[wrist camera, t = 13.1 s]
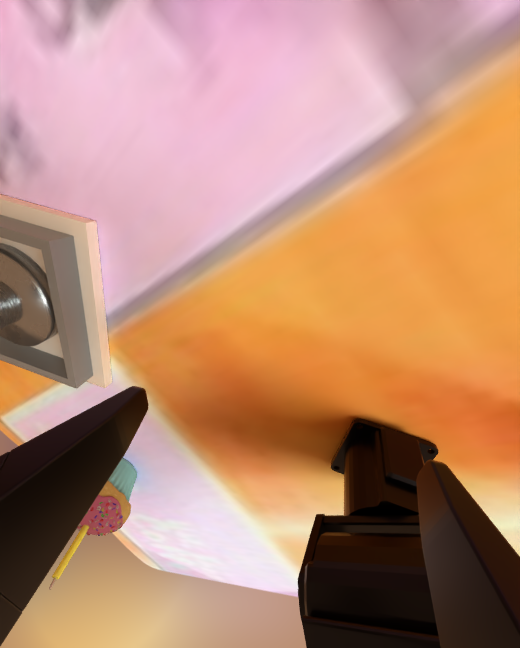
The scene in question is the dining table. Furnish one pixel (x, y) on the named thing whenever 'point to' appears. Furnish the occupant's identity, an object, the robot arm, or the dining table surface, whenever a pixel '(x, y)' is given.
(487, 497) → the dining table surface
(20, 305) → the flared base peg
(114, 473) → the cupcake
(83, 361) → the board
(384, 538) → the robot arm
